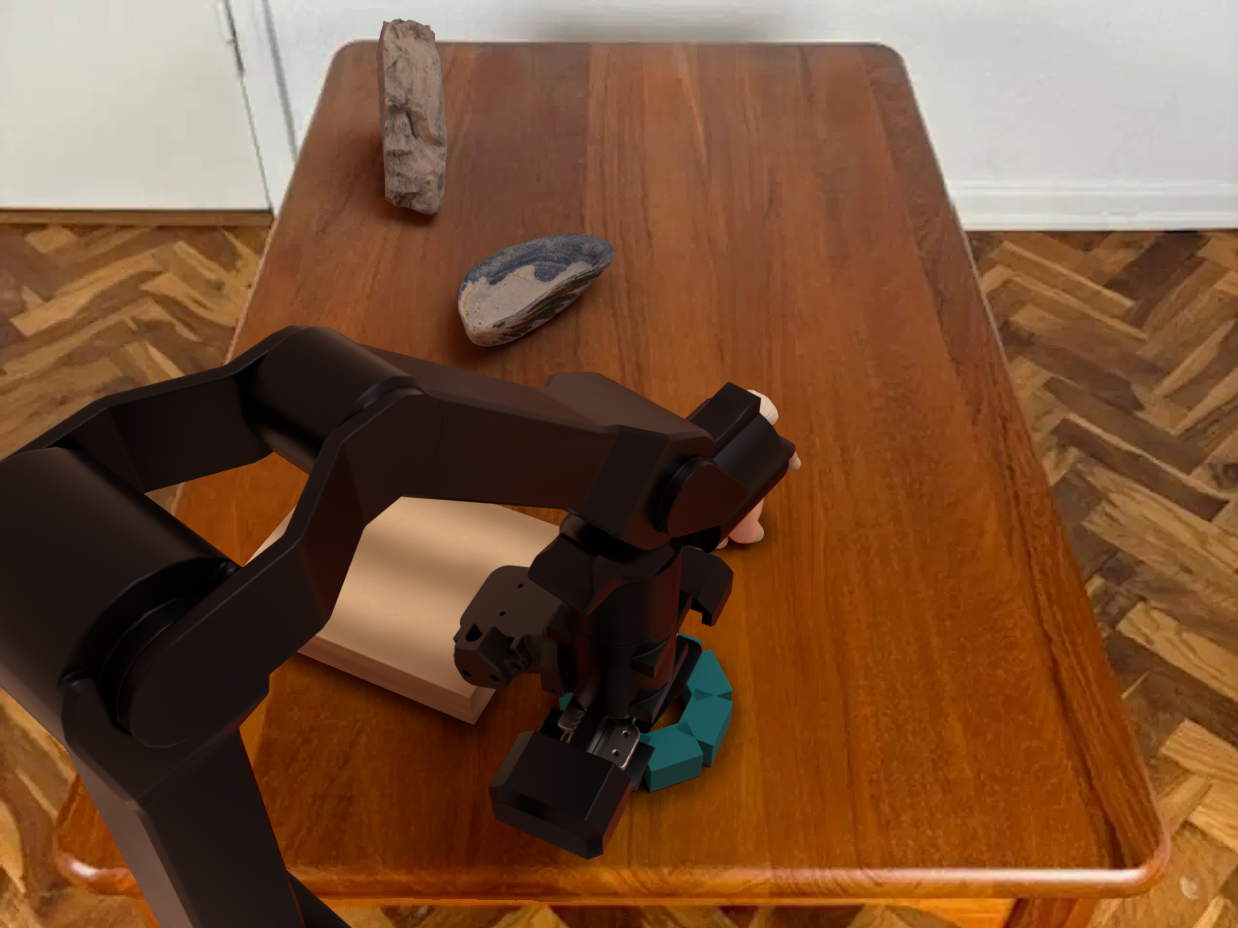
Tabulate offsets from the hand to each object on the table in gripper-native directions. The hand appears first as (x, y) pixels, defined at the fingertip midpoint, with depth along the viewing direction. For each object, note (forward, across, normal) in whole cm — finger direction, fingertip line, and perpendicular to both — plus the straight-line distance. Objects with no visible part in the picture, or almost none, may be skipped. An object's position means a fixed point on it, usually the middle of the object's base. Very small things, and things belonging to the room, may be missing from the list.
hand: (619, 760), depth 70 cm
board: (0, -6, -18) cm, 19 cm away
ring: (0, -4, 0) cm, 4 cm away
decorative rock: (+1, -48, -42) cm, 64 cm away
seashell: (+1, -35, -23) cm, 42 cm away
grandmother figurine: (+1, -20, 0) cm, 20 cm away
